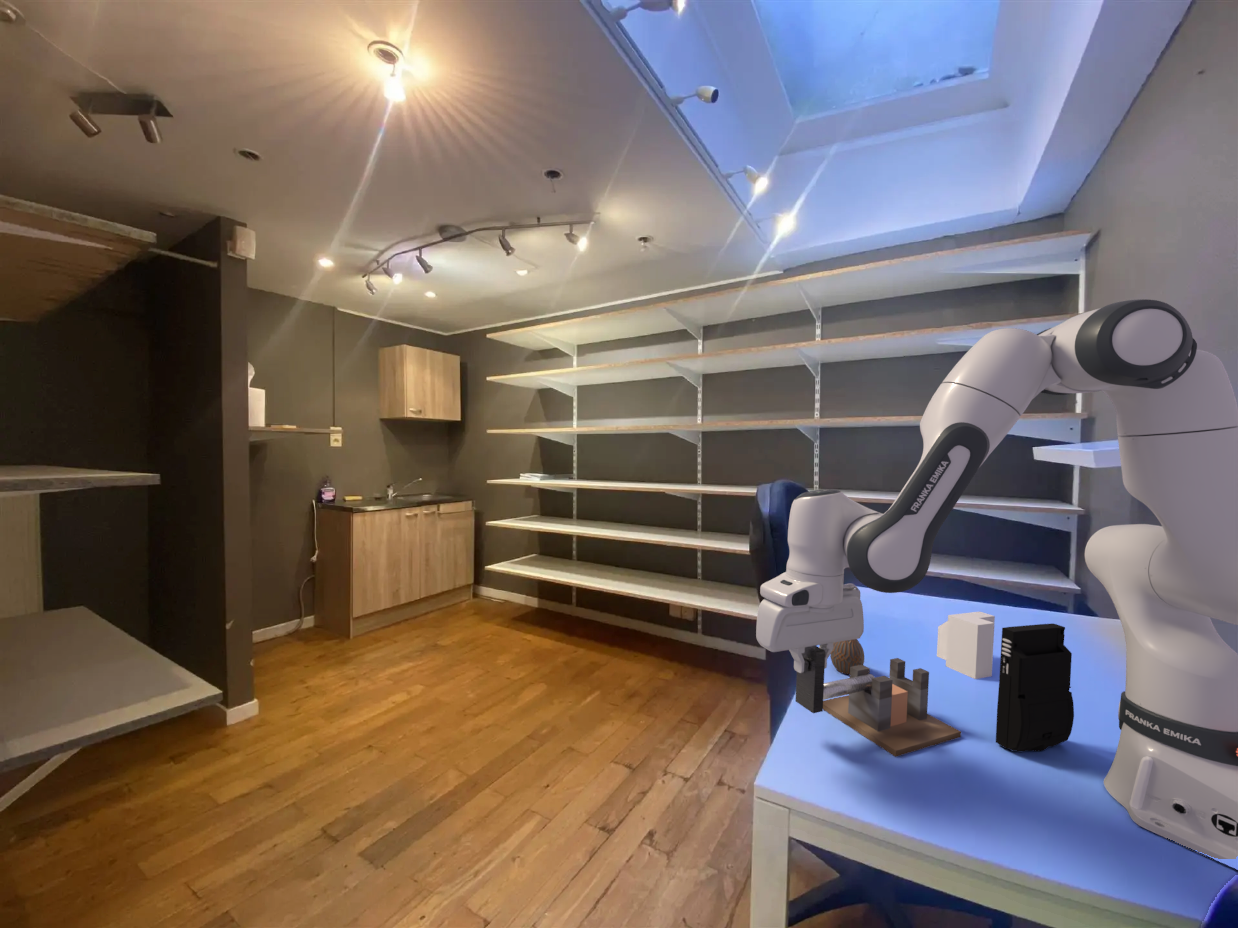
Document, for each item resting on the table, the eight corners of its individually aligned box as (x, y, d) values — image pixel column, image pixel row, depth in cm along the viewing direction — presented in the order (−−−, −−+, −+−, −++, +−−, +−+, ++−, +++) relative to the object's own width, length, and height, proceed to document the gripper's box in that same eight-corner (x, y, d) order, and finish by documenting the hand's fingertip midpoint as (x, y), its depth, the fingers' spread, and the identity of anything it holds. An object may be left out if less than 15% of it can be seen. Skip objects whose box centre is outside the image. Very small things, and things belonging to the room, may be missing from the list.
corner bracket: (975, 679, 106) (977, 625, 105) (926, 657, 116) (929, 608, 116) (1007, 673, 109) (1010, 620, 109) (957, 653, 120) (960, 605, 120)
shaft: (880, 697, 84) (883, 640, 84) (813, 713, 78) (815, 652, 78) (861, 687, 88) (863, 632, 87) (795, 701, 82) (797, 642, 81)
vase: (831, 674, 106) (833, 635, 105) (827, 661, 112) (829, 624, 112) (866, 680, 104) (868, 639, 103) (860, 666, 110) (862, 628, 110)
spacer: (906, 722, 86) (907, 691, 85) (890, 726, 84) (892, 695, 84) (879, 706, 91) (880, 677, 90) (864, 710, 89) (865, 681, 89)
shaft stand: (960, 737, 83) (963, 682, 83) (895, 756, 77) (898, 698, 77) (879, 693, 98) (881, 646, 98) (819, 706, 92) (821, 657, 92)
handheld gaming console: (1044, 734, 85) (1050, 621, 84) (1074, 750, 80) (1081, 631, 80) (991, 743, 82) (997, 626, 81) (1020, 760, 77) (1026, 636, 77)
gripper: (844, 577, 87) (841, 653, 87) (752, 586, 79) (748, 669, 79) (875, 587, 81) (871, 668, 81) (778, 597, 73) (774, 687, 73)
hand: (810, 669), depth 80 cm, fingers open, 3 cm apart
